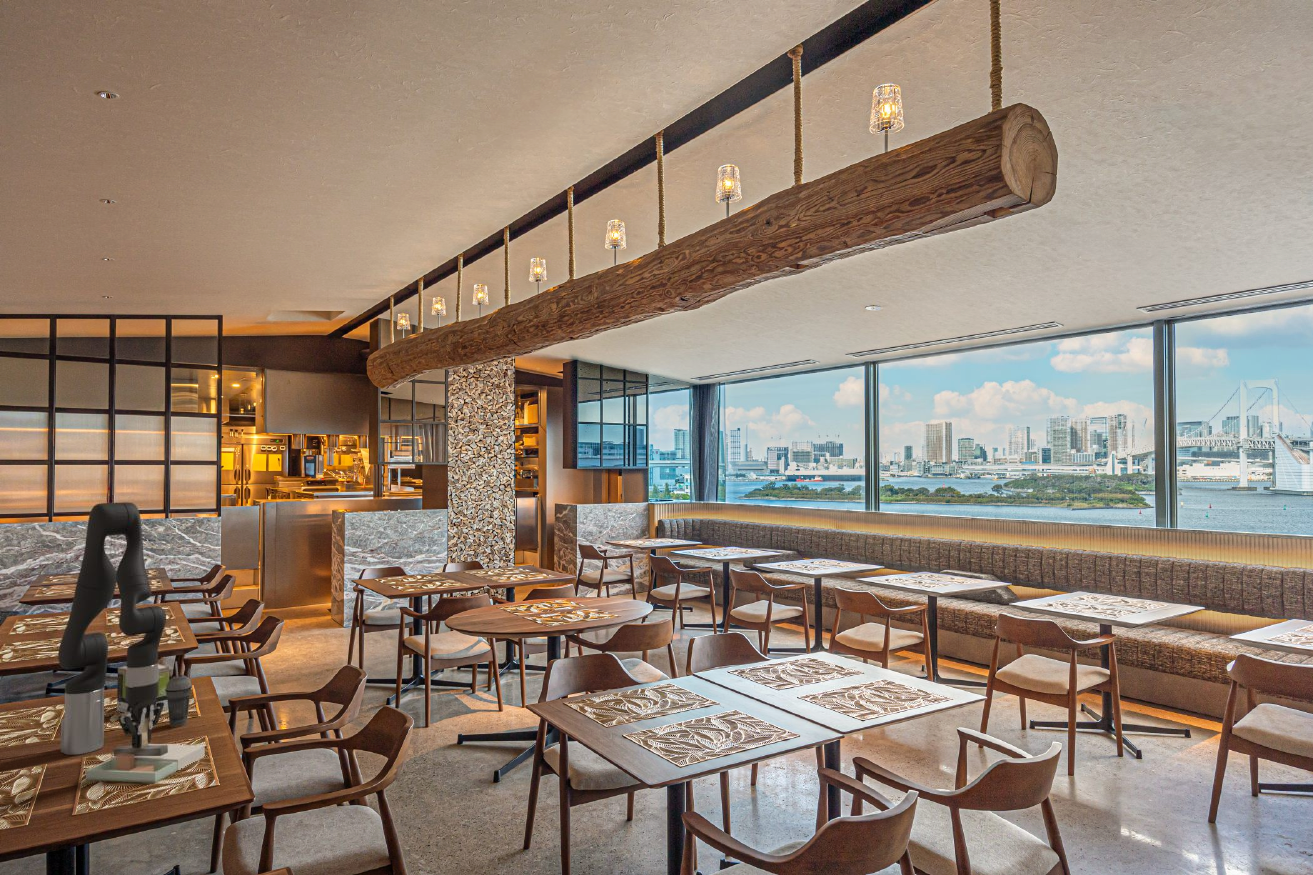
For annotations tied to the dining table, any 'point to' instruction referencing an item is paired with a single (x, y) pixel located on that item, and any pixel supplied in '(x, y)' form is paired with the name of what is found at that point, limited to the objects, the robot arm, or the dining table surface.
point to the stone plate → (177, 755)
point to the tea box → (162, 696)
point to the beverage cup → (178, 699)
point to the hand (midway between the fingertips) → (141, 745)
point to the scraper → (143, 746)
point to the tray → (131, 772)
